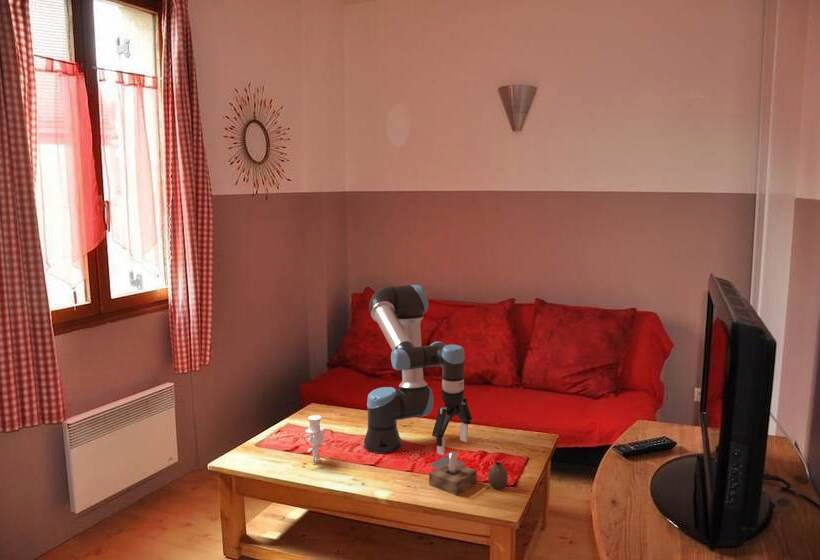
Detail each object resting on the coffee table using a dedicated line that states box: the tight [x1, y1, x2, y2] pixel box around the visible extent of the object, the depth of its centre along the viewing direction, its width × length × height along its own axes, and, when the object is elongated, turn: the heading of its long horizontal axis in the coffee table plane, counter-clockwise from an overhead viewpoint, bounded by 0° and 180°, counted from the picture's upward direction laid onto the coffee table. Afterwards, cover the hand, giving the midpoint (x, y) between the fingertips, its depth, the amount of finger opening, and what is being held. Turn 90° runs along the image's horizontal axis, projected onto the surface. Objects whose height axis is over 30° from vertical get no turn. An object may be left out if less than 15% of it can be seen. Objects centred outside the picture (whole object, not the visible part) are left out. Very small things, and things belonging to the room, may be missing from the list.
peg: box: [448, 450, 458, 476], centre depth 230 cm, size 3×3×12 cm
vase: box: [487, 461, 509, 490], centre depth 229 cm, size 7×7×9 cm
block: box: [428, 462, 478, 497], centre depth 230 cm, size 12×12×5 cm
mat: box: [429, 455, 467, 469], centre depth 246 cm, size 10×10×1 cm
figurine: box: [303, 414, 326, 464], centre depth 249 cm, size 10×8×18 cm
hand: (452, 447), depth 229 cm, fingers open, 13 cm apart
